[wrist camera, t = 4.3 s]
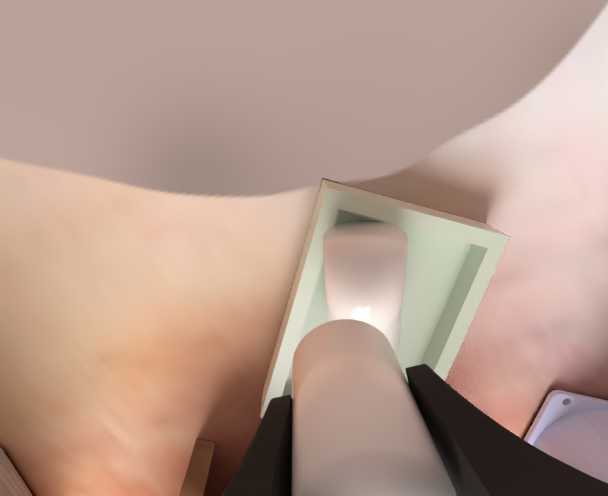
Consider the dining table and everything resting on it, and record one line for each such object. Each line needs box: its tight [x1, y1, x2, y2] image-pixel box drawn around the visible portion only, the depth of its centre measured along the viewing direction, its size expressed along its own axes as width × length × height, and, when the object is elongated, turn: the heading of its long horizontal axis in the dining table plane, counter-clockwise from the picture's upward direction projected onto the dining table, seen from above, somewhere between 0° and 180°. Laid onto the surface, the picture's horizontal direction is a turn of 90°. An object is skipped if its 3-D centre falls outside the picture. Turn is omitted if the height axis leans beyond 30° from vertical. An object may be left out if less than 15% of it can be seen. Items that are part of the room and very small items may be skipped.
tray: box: [260, 178, 510, 418], centre depth 21 cm, size 9×13×3 cm
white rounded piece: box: [292, 319, 457, 496], centre depth 11 cm, size 4×4×6 cm
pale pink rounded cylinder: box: [323, 220, 408, 352], centre depth 18 cm, size 4×4×6 cm
